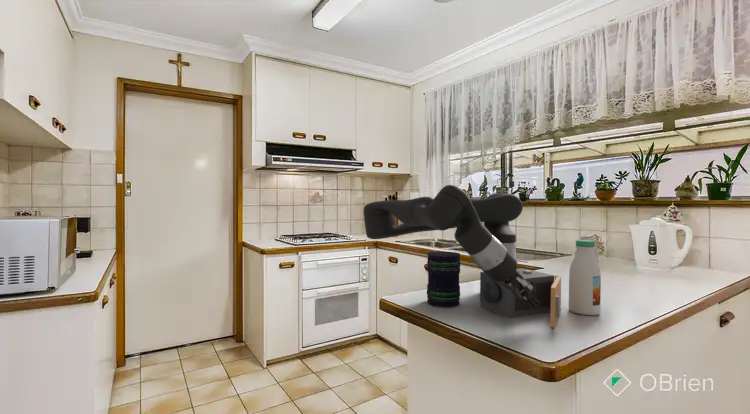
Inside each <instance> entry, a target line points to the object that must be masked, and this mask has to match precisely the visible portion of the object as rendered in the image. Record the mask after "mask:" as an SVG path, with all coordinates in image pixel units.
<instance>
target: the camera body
mask: <svg viewBox="0 0 750 414" xmlns="http://www.w3.org/2000/svg"><path fill="white" fill-rule="evenodd" d="M516 271H518V272H520V273H521V274H522V275H523V278H524V279H525V280H526V282H527V283H528V282H530V281H532V282H533V283H534V284H535V287H536V294H535V295H534V296H535V297H536V298H537V299H538V300H539V302H540V305H539V307H538V308H537V309H533V308H531V307H530V306H529V305H528V304H527V303H526V302H525V301H524V300H523V299H522V298H520V297H519V296H518V295H517V294H516V295H515V294H513V293H512V292H511V291H510V290H508V289H507V288H506V287H505V286H503V285H502V284H501V283H500V282H494V281H492V280H491V279H490V278H489V277H488V276H487V275H486V274H485V273H484V272H483V271H480V275H479V276H480V278H479V280H480V282H479V283H480V284H479V285H480V289H479V293H480V294H479V301H480V302H479V307H481V308H483V309H486V310H489V311H492V312H494V313H497V314H499V315H502V316H505V317H507V318H509V319H514V318H519V317H525V316H531V315H537V314H543V313H551V286H552V285H553V283H554V281H555V276H556V275H554V274H550V273H544V272H540V271H536V270H532V269H527V268H524V267H523V268H521V267H520V268H517V269H516Z"/></svg>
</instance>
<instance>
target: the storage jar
mask: <svg viewBox="0 0 750 414" xmlns="http://www.w3.org/2000/svg"><path fill="white" fill-rule="evenodd" d="M426 260H427V262H426V266H427V268H426V271H427V284H426V295H427V296H426V298H427V300H426V303H427V304H428V305H429V306H431V307H436V308H441V309H442V308H443V309H450V308H456V307H459V306H460V305H461V302H460V299H461V298H460V297H461V286H460V274H461V253H460V252H456V251H455V252H454V251H442V250H441V251H439V250H438V251H429V252H427V259H426Z"/></svg>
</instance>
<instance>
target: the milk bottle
mask: <svg viewBox="0 0 750 414" xmlns="http://www.w3.org/2000/svg"><path fill="white" fill-rule="evenodd" d="M594 247H595V248H596V242H595V240H594V241H592V240H580V239H577V240H575V249H577V251H576V250H575V251H576V255H574V258H573V259H572V261H571V263H570V265H569V273H568V274H569V276H568V309H569V311H570V312H571V313H575V314H578V315H581V316H582V315H583V316H598V315H600V313H601V297H602V296H601V295H602V294H601V292H602V291H601V290H602V288H601V287H602V285H601V282H602V281H601V280H602V279H601V278H602V275H601V273H602V272H601V268H600V265H599V262H597V260H596V258H595V255H594V249H595V248H594Z"/></svg>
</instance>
